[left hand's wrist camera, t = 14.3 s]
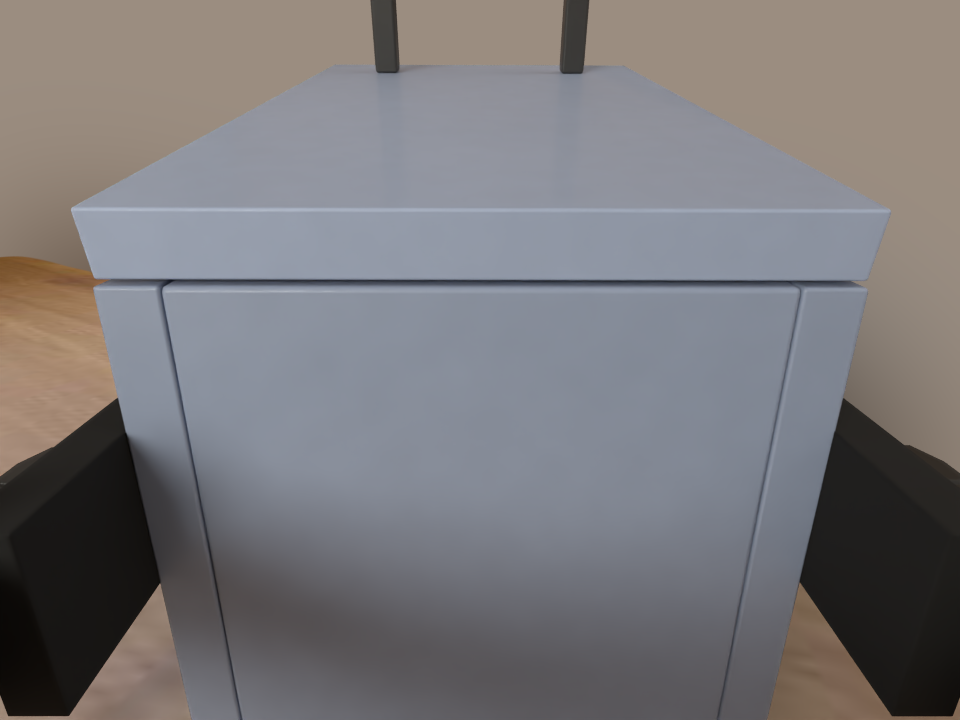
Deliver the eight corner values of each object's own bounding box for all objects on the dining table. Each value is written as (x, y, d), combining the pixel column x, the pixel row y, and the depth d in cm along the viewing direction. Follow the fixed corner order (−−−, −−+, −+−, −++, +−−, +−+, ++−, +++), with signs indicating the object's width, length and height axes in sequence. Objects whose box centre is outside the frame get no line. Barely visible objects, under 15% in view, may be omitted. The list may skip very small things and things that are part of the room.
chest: (359, 426, 27) (341, 177, 23) (597, 426, 27) (617, 178, 23) (211, 814, 12) (89, 286, 8) (747, 814, 12) (872, 288, 8)
